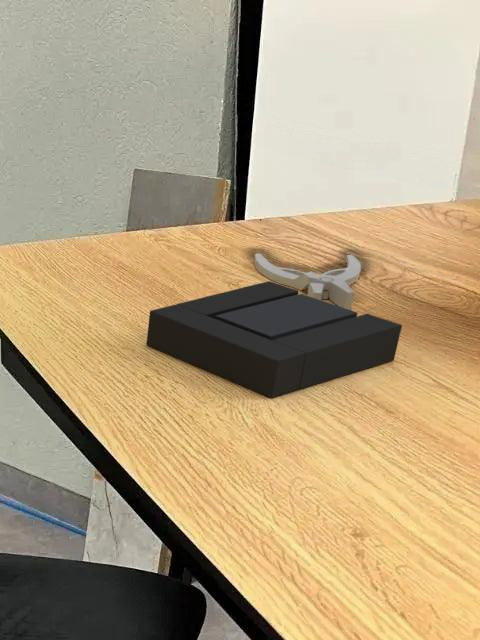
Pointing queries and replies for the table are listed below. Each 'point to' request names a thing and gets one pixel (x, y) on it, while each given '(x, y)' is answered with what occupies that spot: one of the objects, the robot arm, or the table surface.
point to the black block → (286, 316)
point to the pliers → (316, 280)
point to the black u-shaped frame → (269, 342)
